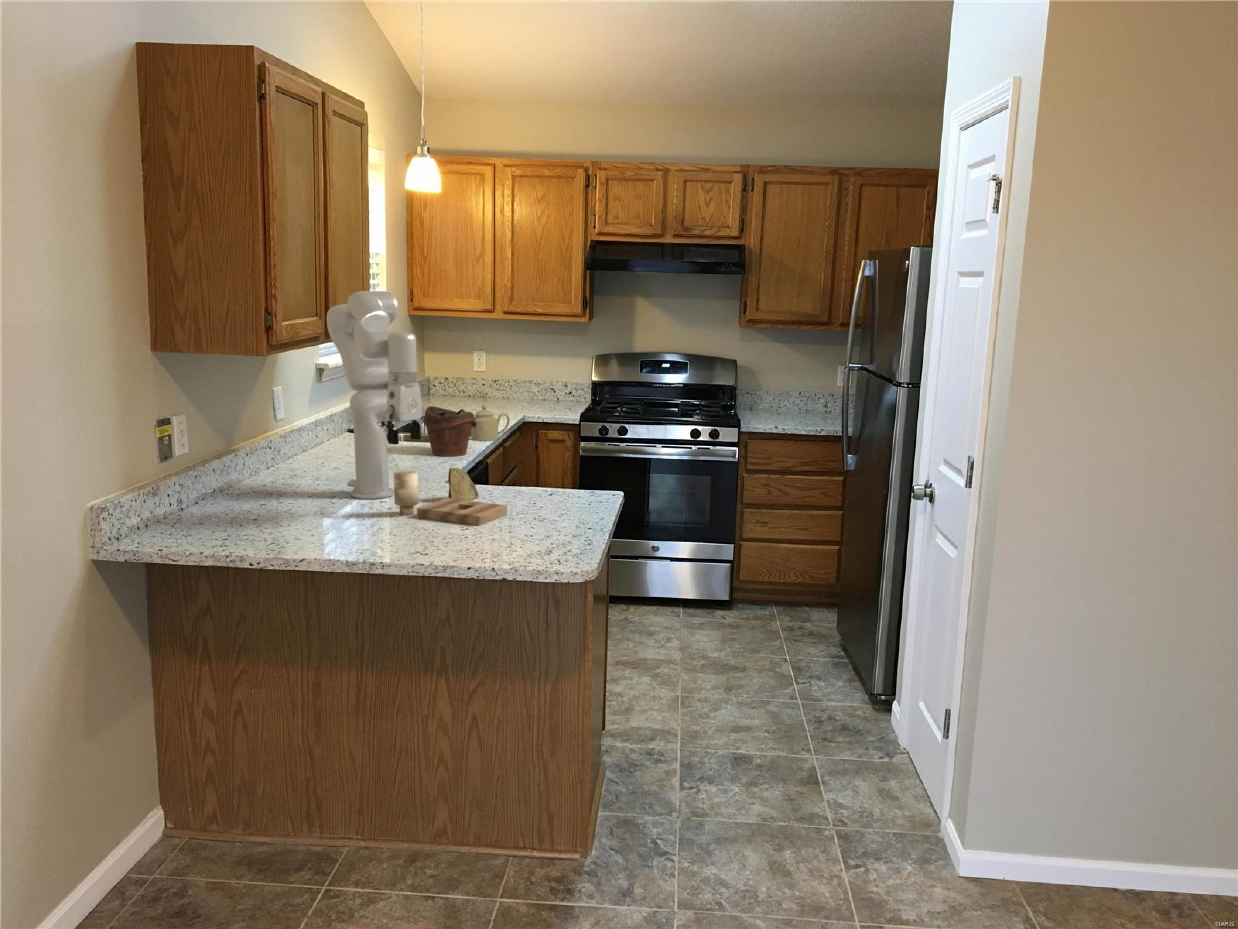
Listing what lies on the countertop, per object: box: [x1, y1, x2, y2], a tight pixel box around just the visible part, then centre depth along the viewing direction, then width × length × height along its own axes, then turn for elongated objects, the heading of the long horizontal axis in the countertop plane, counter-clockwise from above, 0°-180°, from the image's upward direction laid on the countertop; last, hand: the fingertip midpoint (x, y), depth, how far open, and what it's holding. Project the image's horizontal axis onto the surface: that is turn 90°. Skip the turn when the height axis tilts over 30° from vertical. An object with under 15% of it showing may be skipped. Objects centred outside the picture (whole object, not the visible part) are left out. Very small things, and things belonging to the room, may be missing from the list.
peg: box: [393, 470, 419, 517], centre depth 258 cm, size 6×6×12 cm
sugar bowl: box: [471, 403, 511, 442], centre depth 391 cm, size 15×11×15 cm
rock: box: [447, 467, 480, 501], centre depth 276 cm, size 11×9×10 cm
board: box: [416, 497, 508, 526], centre depth 257 cm, size 20×14×3 cm
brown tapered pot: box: [422, 405, 477, 458], centre depth 353 cm, size 18×20×18 cm
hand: (404, 441), depth 255 cm, fingers open, 9 cm apart
